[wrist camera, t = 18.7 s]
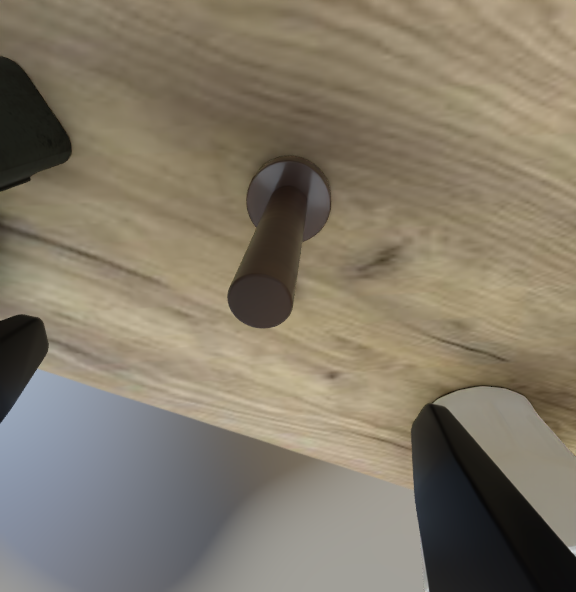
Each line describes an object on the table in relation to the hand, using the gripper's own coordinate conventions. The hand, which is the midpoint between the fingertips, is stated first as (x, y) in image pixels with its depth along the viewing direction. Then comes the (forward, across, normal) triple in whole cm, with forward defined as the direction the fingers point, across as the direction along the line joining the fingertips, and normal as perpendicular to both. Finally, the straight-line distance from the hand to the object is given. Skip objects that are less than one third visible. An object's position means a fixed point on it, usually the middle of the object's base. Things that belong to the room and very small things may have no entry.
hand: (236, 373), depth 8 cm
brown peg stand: (+13, 0, 0) cm, 13 cm away
